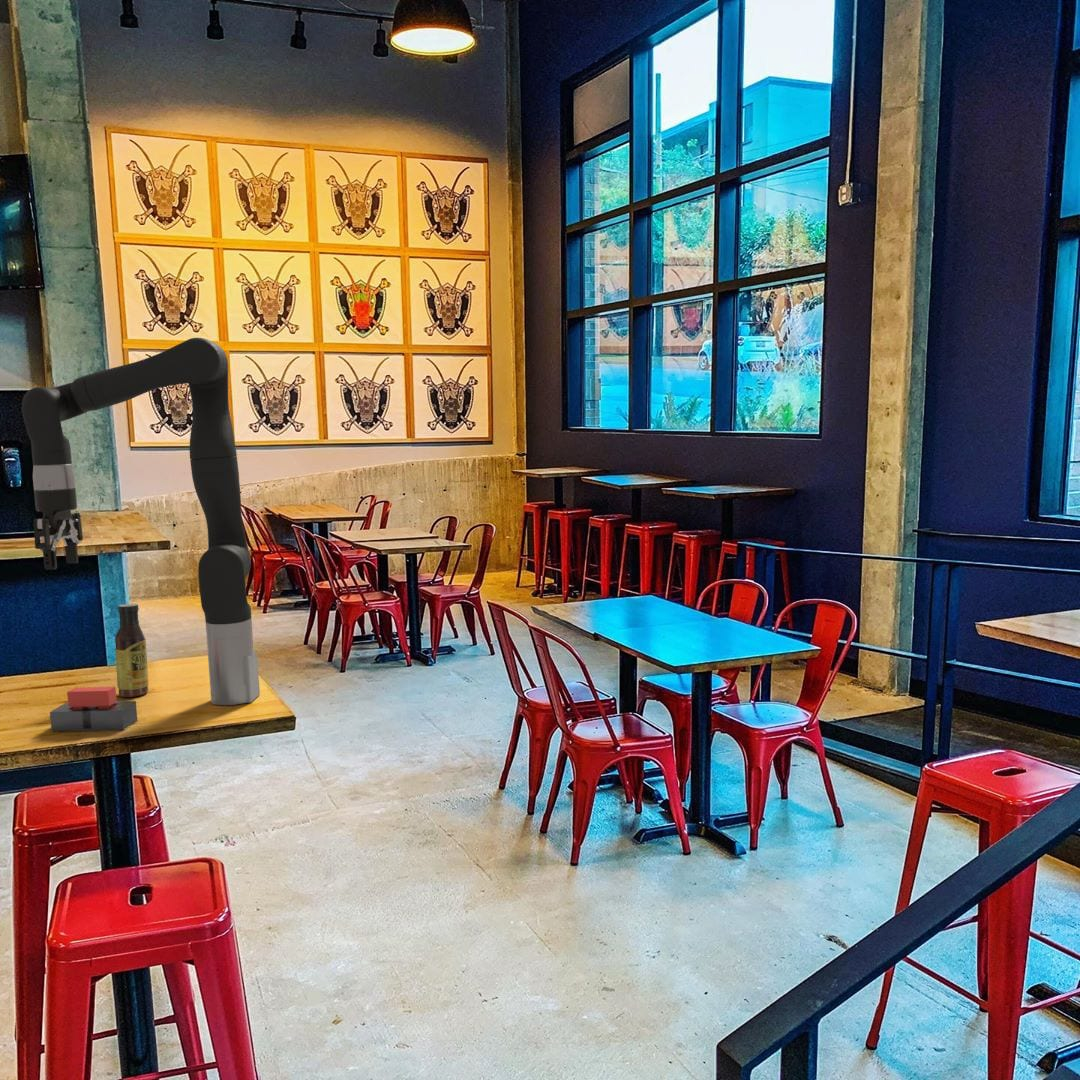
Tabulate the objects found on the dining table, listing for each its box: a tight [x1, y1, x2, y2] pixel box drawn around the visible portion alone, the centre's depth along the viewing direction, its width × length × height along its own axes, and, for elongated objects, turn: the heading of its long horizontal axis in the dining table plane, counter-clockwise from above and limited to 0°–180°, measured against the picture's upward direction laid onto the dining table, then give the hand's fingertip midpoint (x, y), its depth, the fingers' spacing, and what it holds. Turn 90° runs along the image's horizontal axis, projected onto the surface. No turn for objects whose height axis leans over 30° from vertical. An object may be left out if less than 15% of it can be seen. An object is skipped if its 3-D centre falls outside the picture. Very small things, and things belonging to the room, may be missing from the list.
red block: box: [66, 686, 118, 709], centre depth 184 cm, size 8×3×7 cm, turn 89°
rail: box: [49, 700, 138, 732], centre depth 184 cm, size 14×6×4 cm, turn 89°
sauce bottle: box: [114, 603, 150, 698], centre depth 205 cm, size 6×6×20 cm
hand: (62, 566), depth 193 cm, fingers open, 8 cm apart
